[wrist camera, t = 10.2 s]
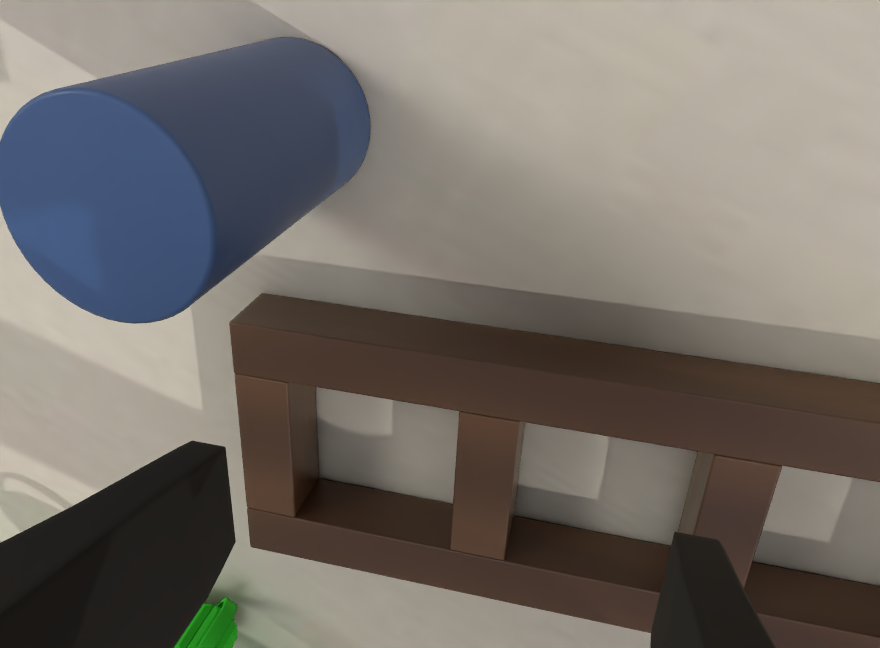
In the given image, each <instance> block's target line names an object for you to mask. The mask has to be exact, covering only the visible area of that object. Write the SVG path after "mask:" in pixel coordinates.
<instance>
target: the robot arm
mask: <svg viewBox="0 0 880 648" xmlns="http://www.w3.org/2000/svg"><path fill="white" fill-rule="evenodd" d="M234 544H235V532H234V523H233V514H232V504H231V495H230V486H229V476H228V467H227V458H226V448H225V447H223V446H217V445H212V444H207V443H201V442H196V441H191V442H189V443H187V444H185V445H183V446H180V447H179V448H177V449H175V450H173V451H171V452H169V453H167V454H165V455H164V456H162V457H160V458H158V459H156V460H155V461H153V462H151V463H149V464H148V465H146V466H144V467H142V468H140V469H139V470H137V471H135V472H133V473H132V474H130V475H128V476H126V477H125V478H123V479H121V480H119V481H117V482H116V483H114V484H112V485H110V486H108V487H107V488H105V489H103V490H101V491H99V492H98V493H96V494H94V495H92V496H90V497H88V498H87V499H85V500H83V501H81V502H79V503H78V504H76V505H74V506H72V507H70V508H68V509H66V510H64V511H62V512H60V513H58V514H57V515H55V516H53V517H51V518H49V519H47V520H45V521H43V522H41V523H39V524H37V525H35V526H33V527H31V528H29V529H27V530H25V531H23V532H21V533H19V534H17V535H15V536H13V537H11V538H9V539H7V540H5V541H3V542H1V543H0V648H174V646H175V645H176V643H177V642H178V640H179V639H180V637H181V636H182V635H183V633H184V632H185V630H186V629H187V627H188V626H189V624H190V623H191V621H192V620H193V618H194V617H195V615H196V614H197V612H198V611H199V609H200V608H201V606H202V605H203V603H204V602H205V600H206V599H207V597H208V595H209V593H210V591H211V590H212V588H213V586H214V584H215V582H216V580H217V578H218V576H219V574H220V572H221V570H222V568H223V566H224V564H225V562H226V560H227V558H228V556H229V554H230V552H231V550H232V548H233V546H234ZM651 648H776V647H775V645H774V643H773V641H772V640H771V638H770V636H769V635H768V633H767V631H766V629H765V627H764V626H763V624H762V622H761V620H760V618H759V616H758V615H757V613H756V611H755V609H754V607H753V605H752V603H751V601H750V599H749V597H748V596H747V594H746V592H745V590H744V588H743V586H742V584H741V582H740V580H739V578H738V576H737V574H736V572H735V570H734V567H733V565H732V563H731V561H730V559H729V557H728V555H727V553H726V550H725V548H724V547H723V545H722V544H721V543H720V541H719V540H717V539H712V538H707V537H701V536H696V535H691V534H685V533H680V532H675V533H674V537H673V541H672V546H671V550H670V554H669V558H668V562H667V566H666V571H665V575H664V579H663V583H662V587H661V592H660V596H659V600H658V604H657V608H656V613H655V617H654V621H653V625H652V629H651Z"/></svg>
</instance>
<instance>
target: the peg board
mask: <svg viewBox="0 0 880 648" xmlns="http://www.w3.org/2000/svg"><path fill="white" fill-rule="evenodd" d="M230 334H231V345H232V355H233V366H234V373H235V383H236V394H237V405H238V415H239V426H240V437H241V447H242V458H243V469H244V479H245V490H246V501H247V507H248V508H247V513H248V523H249V534H250V545H251V547H253V548H258V549H263V550H267V551H272V552H277V553H281V554H286V555H291V556H295V557H300V558H304V559H309V560H314V561H318V562H323V563H328V564H332V565H337V566H342V567H346V568H351V569H356V570H360V571H365V572H370V573H374V574H379V575H383V576H388V577H393V578H397V579H402V580H407V581H411V582H416V583H421V584H425V585H430V586H435V587H439V588H444V589H449V590H453V591H458V592H462V593H467V594H472V595H476V596H481V597H486V598H490V599H495V600H500V601H504V602H509V603H514V604H518V605H523V606H528V607H532V608H537V609H541V610H546V611H551V612H555V613H560V614H565V615H569V616H574V617H579V618H583V619H588V620H593V621H597V622H602V623H607V624H611V625H616V626H620V627H625V628H630V629H634V630H639V631H644V632H648V633H651V629H652V625H653V621H654V617H655V613H656V608H657V604H658V600H659V596H660V592H661V587H662V583H663V579H664V575H665V571H666V566H667V562H668V558H669V554H670V550H671V547H670V546H665V545H660V544H655V543H650V542H644V541H639V540H634V539H629V538H624V537H619V536H613V535H608V534H603V533H598V532H593V531H588V530H582V529H577V528H572V527H567V526H562V525H556V524H551V523H546V522H541V521H536V520H531V519H525V518H520V517H515V516H514V513H515V504H516V495H517V487H518V478H519V469H520V461H521V452H522V443H523V435H524V426H525V422H528V423H533V424H539V425H545V426H551V427H557V428H563V429H569V430H575V431H581V432H587V433H593V434H599V435H604V436H610V437H616V438H622V439H628V440H634V441H640V442H646V443H652V444H658V445H664V446H670V447H676V448H681V449H687V450H693V451H698V453H697V457H696V461H695V465H694V469H693V474H692V478H691V482H690V486H689V490H688V494H687V498H686V502H685V506H684V510H683V514H682V518H681V522H680V526H679V530H678V532H680V533H685V534H691V535H696V536H701V537H707V538H712V539H717V540H719V541H720V543H721V544H722V545H723V547H724V548H725V550H726V553H727V555H728V557H729V559H730V561H731V563H732V565H733V567H734V570H735V572H736V574H737V576H738V578H739V580H740V582H741V584H742V586H743V588H744V590H745V592H746V594H747V596H748V597H749V599H750V601H751V603H752V605H753V607H754V609H755V611H756V613H757V615H758V616H759V618H760V620H761V622H762V624H763V626H764V627H765V629H766V631H767V633H768V635H769V636H770V638H771V640H772V641H773V643H774V645H775V647H776V648H880V587H877V586H872V585H867V584H862V583H857V582H852V581H846V580H841V579H836V578H831V577H826V576H820V575H815V574H810V573H805V572H800V571H795V570H789V569H784V568H779V567H774V566H769V565H764V564H758V563H753V562H752V561H753V557H754V554H755V551H756V548H757V545H758V542H759V538H760V535H761V532H762V529H763V526H764V522H765V519H766V516H767V513H768V510H769V507H770V503H771V500H772V497H773V494H774V491H775V487H776V484H777V481H778V478H779V475H780V472H781V468H782V466H788V467H794V468H800V469H806V470H812V471H818V472H823V473H829V474H835V475H841V476H847V477H853V478H859V479H865V480H871V481H877V482H880V384H879V383H872V382H865V381H858V380H851V379H844V378H838V377H831V376H824V375H817V374H810V373H803V372H797V371H790V370H783V369H776V368H769V367H762V366H756V365H749V364H742V363H735V362H728V361H721V360H715V359H708V358H701V357H694V356H687V355H680V354H674V353H667V352H660V351H653V350H646V349H639V348H632V347H626V346H619V345H612V344H605V343H598V342H591V341H585V340H578V339H571V338H564V337H557V336H550V335H544V334H537V333H530V332H523V331H516V330H509V329H503V328H496V327H489V326H482V325H475V324H468V323H462V322H455V321H448V320H441V319H434V318H427V317H421V316H414V315H407V314H400V313H393V312H386V311H380V310H373V309H366V308H359V307H352V306H345V305H339V304H332V303H325V302H318V301H311V300H304V299H298V298H291V297H284V296H277V295H270V294H263V293H262V294H260V295H259V296H258V297H257V298H256V299H255V300H254V301H253V302H251V303H250V304H249V305H248V306H247V307H246V308H245V309H244V310H243V311H242V312H240V313H239V314H238V315H237V316H236V317H235V318H234V319H233V320H232V321H230ZM315 387H320V388H326V389H332V390H338V391H344V392H350V393H356V394H362V395H368V396H374V397H380V398H386V399H391V400H397V401H403V402H409V403H415V404H421V405H427V406H433V407H439V408H445V409H451V410H457V411H460V412H459V425H458V440H457V455H456V469H455V484H454V499H453V504H448V503H443V502H437V501H432V500H427V499H422V498H417V497H411V496H406V495H401V494H396V493H391V492H386V491H380V490H375V489H370V488H365V487H360V486H355V485H349V484H344V483H339V482H334V481H329V480H323V479H318V478H319V473H318V445H317V418H316V391H315Z"/></svg>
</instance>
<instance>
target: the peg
mask: <svg viewBox="0 0 880 648" xmlns="http://www.w3.org/2000/svg"><path fill="white" fill-rule="evenodd" d="M369 139H370V116H369V111H368V106H367V103H366V99H365V96H364V94H363V91H362V89H361V87H360V85H359V83H358V81H357V80H356V78H355V76H354V75H353V74H352V72H351V71H350V70H349V68H348V67H347V66H346V65H345V64H344V63H343V62H342V61H341V60H340V59H339V58H338V57H337V56H335V55H334V54H333V53H332V52H330V51H329V50H327V49H326V48H324V47H322V46H320V45H318V44H316V43H314V42H311V41H308V40H305V39H301V38H294V37H280V38H273V39H269V40H264V41H260V42H256V43H252V44H247V45H243V46H239V47H234V48H230V49H226V50H222V51H217V52H213V53H209V54H204V55H200V56H196V57H192V58H187V59H183V60H179V61H174V62H170V63H166V64H161V65H157V66H153V67H149V68H144V69H140V70H136V71H131V72H127V73H123V74H119V75H114V76H110V77H106V78H101V79H97V80H93V81H89V82H84V83H80V84H76V85H71V86H67V87H63V88H58V89H55V90H52V91H49V92H45V93H43V94H41V95H39V96H37V97H35V98H33V99H31V100H30V101H29V102H28V103H26V104H25V105H24V106H23V107H22V108H21V109H20V110H19V111H18V112H17V113H16V114H15V116H14V117H13V118H12V119H11V121H10V122H9V124H8V126H7V128H6V129H5V131H4V133H3V136H2V139H1V141H0V206H1V210H2V213H3V216H4V219H5V221H6V224H7V226H8V229H9V231H10V233H11V235H12V237H13V239H14V241H15V243H16V244H17V246H18V248H19V249H20V251H21V252H22V254H23V255H24V257H25V258H26V260H27V261H28V262H29V263H30V265H31V266H32V267H33V269H34V270H35V271H36V272H37V273H38V274H39V275H40V276H41V277H42V278H43V280H44V281H45V282H46V283H48V284H49V285H50V286H51V287H52V288H53V289H54V290H55V291H56V292H58V293H59V294H60V295H62V296H63V297H65V298H66V299H67V300H69V301H70V302H72V303H73V304H75V305H77V306H78V307H80V308H82V309H84V310H86V311H88V312H90V313H92V314H94V315H97V316H100V317H103V318H106V319H109V320H114V321H118V322H125V323H150V322H156V321H161V320H164V319H167V318H170V317H173V316H175V315H176V314H178V313H180V312H182V311H184V310H185V309H186V308H188V307H189V306H190V305H191V304H193V303H194V302H195V301H196V300H198V299H199V298H200V297H202V296H203V295H204V294H205V293H207V292H208V291H209V290H210V289H212V288H213V287H214V286H216V285H217V284H218V283H219V282H221V281H222V280H223V279H224V278H226V277H227V276H228V275H229V274H231V273H232V272H233V271H235V270H236V269H237V268H238V267H240V266H241V265H242V264H243V263H245V262H246V261H247V260H249V259H250V258H251V257H252V256H254V255H255V254H256V253H257V252H259V251H260V250H261V249H263V248H264V247H265V246H266V245H268V244H269V243H270V242H271V241H273V240H274V239H275V238H277V237H278V236H279V235H280V234H282V233H283V232H284V231H285V230H287V229H288V228H289V227H291V226H292V225H293V224H294V223H296V222H297V221H298V220H299V219H301V218H302V217H303V216H305V215H306V214H307V213H308V212H310V211H311V210H312V209H313V208H315V207H316V206H317V205H318V204H320V203H321V202H322V201H324V200H325V199H326V198H327V197H329V196H330V195H331V194H332V193H334V192H335V191H336V190H338V189H339V188H340V187H341V186H343V185H344V184H345V183H346V182H348V181H349V180H350V179H351V178H352V177H353V176H354V174H355V173H356V172H357V170H358V169H359V167H360V166H361V164H362V162H363V160H364V158H365V155H366V152H367V149H368V144H369Z"/></svg>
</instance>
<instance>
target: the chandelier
mask: <svg viewBox="0 0 880 648" xmlns="http://www.w3.org/2000/svg"><path fill="white" fill-rule="evenodd" d="M212 608H213V609H212ZM236 610H237V605H236V604H235V603H234V602H232V601H231V600H229V599H228V598H224V599H223V600H221V601H220V602H219V603H218V604H217V605H212V604H207V603H203V605H202V606H201V608H200V609H199V611H198V612H197V614H196V615H195V617H194V618H193V620H192V621H191V623H190V624H189V626H188V627H187V629H186V630H185V632H184V633H183V635H182V636H181V637H180V639H179V640H178V642H177V643H176V645H175V646H174V648H232V647H233V645H234V642H235V640H236V639H237V626H236V624H235V622H234V619H233V617H234V615H235V612H236Z"/></svg>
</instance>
